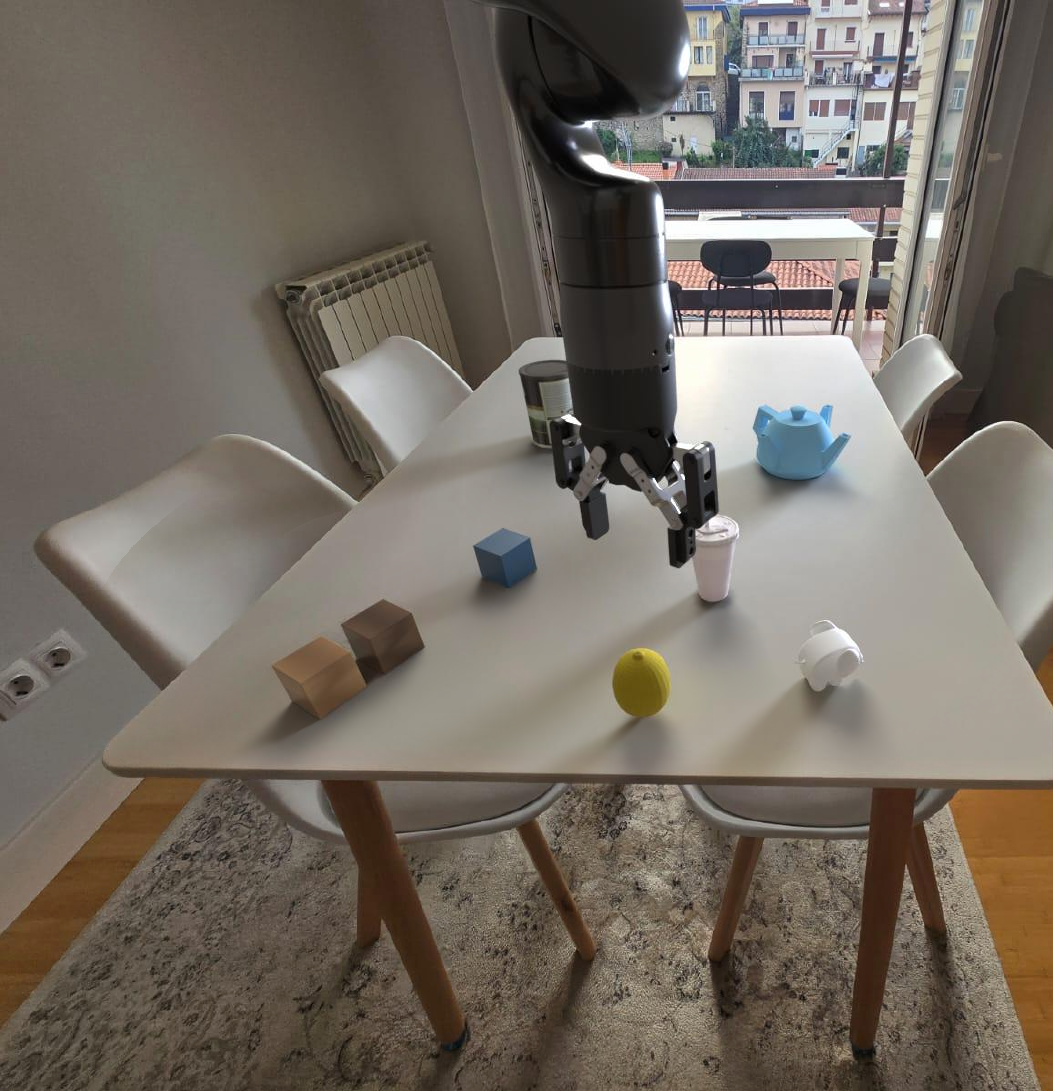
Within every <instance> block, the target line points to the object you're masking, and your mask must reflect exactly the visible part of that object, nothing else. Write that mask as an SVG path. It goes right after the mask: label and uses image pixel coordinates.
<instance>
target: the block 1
mask: <svg viewBox="0 0 1053 1091" xmlns="http://www.w3.org/2000/svg"><path fill="white" fill-rule="evenodd" d="M270 666H271V669H272V670H273V671H274V673H275V675H276V677H277V678H278V680H279V682H280V683H281V685H282V687H283V688H284V690H285V692H286V693H287V696H288V698H289V699H290V700H291V702H293V703H294V704H296V705H297V706H299V707H300V708H302V709H303V710H305V711H306V712H308V713H310V714H311V715H313V717H315V718H317V719H318V720H322V719H323V718H325V717H326V716H327V715H329V714H330V713H332V712H333V711H335V710H336V709H337V708H339V707H341V706H342V705H343V704H344V703H346V702H348V701H349V700H350V699H352V698H353V697H354V696H356V695H357V694H359V693H360V692H362V691H364V689H367V687H368V686H367V684H366V681H365V679H364V677H363V676H362V673H361V671H360V669H359V667H358V665H357V663H356V661H355V658H354V656H353V654H352V652H351V651H350V650H349V649H346V648H345V647H342V645H340V644H337V643H336V642H334V641H332V640H330V639H328V638H327V637H324V636H323V635H320V636H318V637H316V638H315V639H313V640H312V641H310V642H308V643H307V644H305V645H303V646H301V647H300V648H298V649H296V650H294V651H293V652H291V653H289V654H288V655H286V656H284V657H283V658H281V659H279V660H278V661H276V662H275V663H273V664H271V665H270Z"/></svg>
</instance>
